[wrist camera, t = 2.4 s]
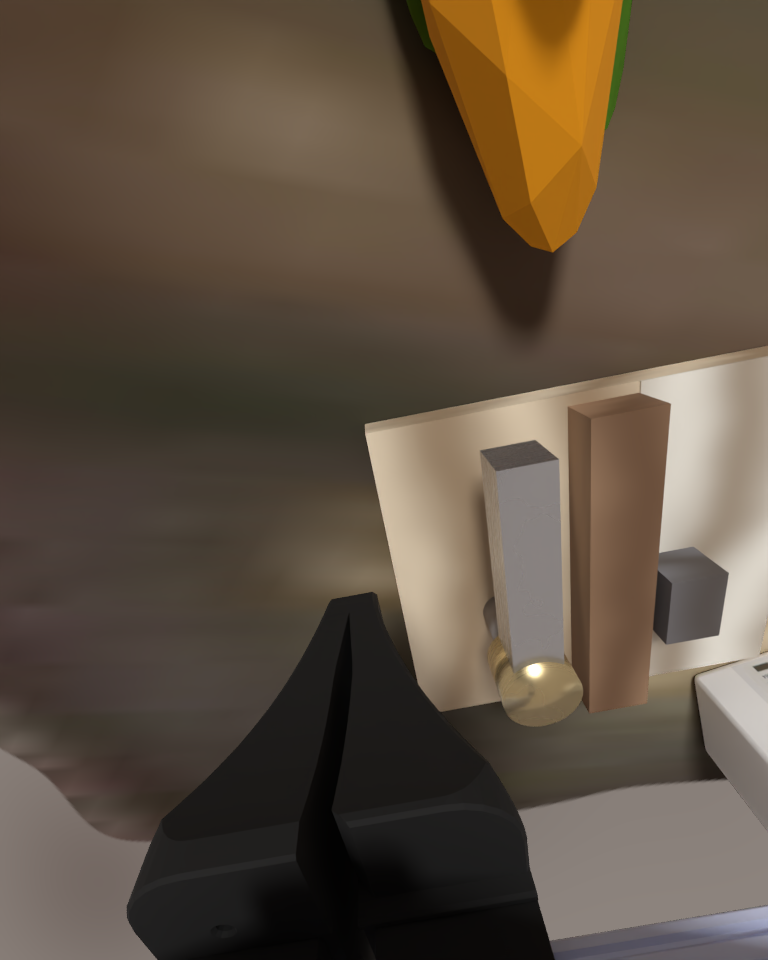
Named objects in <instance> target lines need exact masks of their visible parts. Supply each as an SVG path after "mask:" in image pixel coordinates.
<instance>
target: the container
mask: <svg viewBox="0 0 768 960" xmlns="http://www.w3.org/2000/svg"><path fill="white" fill-rule="evenodd" d="M694 681H695V687H696V693H697V700H698V706H699V712H700V719H701V725H702V731H703V738H704V744H705V749H706V751H707V753H708V754H709V755H710V757H711V758H712V759H713V761H714V762H715V763H716V765H717V766H718V767H719V769H720V770H721V771H722V772H723V774H724V775H725V776H726V778H727V779H728V780H729V782H730V783H731V784H732V785H733V787H734V788H735V789H736V791H737V792H738V793H739V795H740V796H741V797H742V799H743V800H744V801H745V803H746V804H747V805H748V807H749V808H750V809H751V810H752V812H753V813H754V814H755V816H756V817H757V818H758V819H759V821H760V822H761V824H762V825H763V826H764V827H765V829H766V830H767V831H768V652H765V653H762V654H760V655H759V657H754V658H748V659H743V660H740V661H737V662H734V663H731V664H728V665H725V666H722V667H718V668H715V669H712V670H709V671H706V672H703V673H700V674H697V675H696V676H695V679H694Z"/></svg>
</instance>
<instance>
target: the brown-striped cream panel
mask: <svg viewBox="0 0 768 960" xmlns="http://www.w3.org/2000/svg"><path fill="white" fill-rule="evenodd" d="M365 435H366V439H367V444H368V449H369V454H370V458H371V463H372V468H373V473H374V477H375V482H376V487H377V492H378V496H379V501H380V506H381V511H382V515H383V520H384V525H385V530H386V534H387V539H388V544H389V548H390V553H391V558H392V563H393V567H394V572H395V577H396V582H397V586H398V591H399V596H400V601H401V605H402V610H403V615H404V620H405V624H406V629H407V634H408V639H409V643H410V648H411V653H412V658H413V662H414V667H415V672H416V677H417V681H418V685H419V686H420V688H421V689H422V690H423V692H424V693H425V694H426V696H427V697H428V698H429V699H430V701H431V702H432V703H433V704H434V705H435V707H436V708H437V709H438V710H439V711H440V712H442V711H448V710H453V709H459V708H465V707H470V706H476V705H481V704H487V703H493V702H498V701H501V699H500V696H499V693H498V690H497V687H496V684H495V682H494V679H493V676H492V673H491V670H490V667H489V665H488V661H487V652H488V648H489V646H490V644H491V643H492V641H493V640H494V639H495V638H496V637H497V636H498V625H497V615H496V606H495V596H494V586H493V576H492V567H491V557H490V547H489V537H488V528H487V518H486V508H485V498H484V488H483V479H482V469H481V459H480V450H485V449H490V448H495V447H500V446H506V445H511V444H516V443H521V442H526V441H532V440H536V441H537V442H539V443H540V444H541V445H542V446H543V447H545V448H546V449H547V450H548V451H550V452H551V453H552V454H553V455H554V456H556V457H557V458H558V459H559V471H560V512H561V552H562V592H563V632H564V654H565V655H566V657H567V659H568V660H569V662H570V664H571V666H572V667H573V669H574V671H575V673H576V674H577V676H578V678H579V680H580V681H581V683H582V686H583V696H582V701H583V703H584V705H585V706H586V708H587V710H588V712H589V713H595V712H600V711H606V710H612V709H617V708H623V707H629V706H634V705H640V704H646V703H647V695H648V683H649V676H653V675H658V674H664V673H670V672H675V671H681V670H686V669H692V668H698V667H703V666H709V665H714V664H720V663H726V662H731V661H737V660H742V659H748V658H754V657H759V655H760V650H761V645H762V641H763V636H764V631H765V627H766V622H767V617H768V346H764V347H759V348H754V349H749V350H743V351H738V352H733V353H728V354H723V355H718V356H713V357H708V358H702V359H697V360H692V361H687V362H682V363H677V364H672V365H666V366H661V367H656V368H651V369H646V370H641V371H636V372H631V373H625V374H620V375H615V376H610V377H605V378H600V379H595V380H589V381H584V382H579V383H574V384H569V385H564V386H559V387H554V388H548V389H543V390H538V391H533V392H528V393H523V394H518V395H512V396H507V397H502V398H497V399H492V400H487V401H482V402H477V403H471V404H466V405H461V406H456V407H451V408H446V409H441V410H435V411H430V412H425V413H420V414H415V415H410V416H405V417H400V418H394V419H389V420H384V421H379V422H374V423H369V424H365Z"/></svg>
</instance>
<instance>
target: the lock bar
mask: <svg viewBox="0 0 768 960" xmlns="http://www.w3.org/2000/svg"><path fill="white" fill-rule="evenodd" d="M480 459H481V469H482V479H483V488H484V498H485V508H486V518H487V528H488V537H489V547H490V557H491V567H492V576H493V586H494V596H495V606H496V615H497V625H498V636H497V637H496V638H495V639H494V640H493V641H492V643H491V644H490V646H489V648H488V652H487V661H488V665H489V667H490V670H491V673H492V676H493V679H494V682H495V684H496V687H497V690H498V693H499V696H500V699H501V701H502V704H503V707H504V710H505V712H506V714H507V715H508V717H509V718H510V719H512V720H513V721H515V722H516V723H519V724H521V725H525V726H534V727H535V726H545V725H550V724H553V723H556V722H558V721H560V720H562V719H564V718H566V717H567V716H569V715H570V714H571V713H572V712H573V711H574V710H575V709H576V708H577V707H578V705H579V704H580V702H581V700H582V696H583V686H582V683H581V681H580V680H579V678H578V676H577V674H576V673H575V671H574V669H573V667H572V666H571V664H570V662H569V660H568V659H567V657H566V655H565V654H564V632H563V592H562V552H561V512H560V471H559V459H558V458H557V457H556V456H554V455H553V454H552V453H551V452H550V451H548V450H547V449H546V448H545V447H543V446H542V445H541V444H540V443H539V442H537V441H536V440H532V441H526V442H521V443H516V444H511V445H506V446H500V447H495V448H490V449H485V450H480Z"/></svg>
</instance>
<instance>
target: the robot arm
mask: <svg viewBox="0 0 768 960" xmlns="http://www.w3.org/2000/svg"><path fill="white" fill-rule="evenodd" d="M127 918H128V921H129V923H130V925H131V927H132V928H133V930H134V932H135V933H136V935H137V936H138V937H139V938H140V939H141V940H142V942H143V943H144V944H145V945H146V946H147V947H148V949H149V950H150V951H151V952H152V954H153V955H154V956H155V957H156V958H157V960H768V905H764V906H759V907H753V908H746V909H740V910H734V911H728V912H722V913H716V914H711V915H704V916H698V917H692V918H686V919H679V920H674V921H668V922H661V923H655V924H649V925H643V926H638V927H631V928H625V929H619V930H613V931H607V932H601V933H595V934H588V935H582V936H576V937H570V938H565V939H558V940H552V941H549V938H548V934H547V931H546V927H545V924H544V921H543V917H542V914H541V911H540V907H539V904H538V895H537V891H536V888H535V884H534V881H533V878H532V874H531V871H530V867H529V856H528V846H527V836H526V832H525V828H524V825H523V823H522V821H521V818H520V816H519V814H518V811H517V809H516V807H515V805H514V803H513V801H512V800H511V798H510V796H509V794H508V793H507V791H506V789H505V788H504V786H503V784H502V783H501V781H500V779H499V778H498V776H497V775H496V773H495V772H494V770H493V768H492V767H491V765H490V763H489V762H488V761H487V760H486V759H485V758H484V757H483V756H482V755H481V754H480V753H478V752H477V751H476V750H475V749H474V748H473V747H472V746H471V745H470V744H469V743H468V742H467V741H466V740H465V739H464V738H463V737H462V736H461V735H460V734H459V733H458V732H457V731H456V730H455V728H454V727H453V726H452V725H451V724H450V723H449V722H448V721H447V720H446V718H445V717H444V716H443V715H442V714H441V713H440V711H439V710H438V709H437V708H436V707H435V705H434V704H433V703H432V702H431V701H430V699H429V698H428V697H427V696H426V694H425V693H424V692H423V690H422V689H421V688H420V686H419V685H418V683H417V682H416V680H415V679H414V678H413V676H412V675H411V673H410V672H409V670H408V668H407V667H406V665H405V664H404V662H403V660H402V659H401V657H400V655H399V653H398V652H397V650H396V648H395V646H394V644H393V642H392V640H391V638H390V636H389V634H388V632H387V630H386V628H385V625H384V623H383V619H382V615H381V610H380V606H379V602H378V598H377V594H375V593H373V592H369V593H364V594H359V595H353V596H348V597H342V598H337V599H332V600H331V601H330V603H329V604H328V607H327V609H326V611H325V613H324V616H323V618H322V620H321V622H320V624H319V626H318V628H317V630H316V632H315V634H314V636H313V638H312V640H311V642H310V644H309V646H308V647H307V649H306V651H305V653H304V655H303V657H302V658H301V660H300V662H299V663H298V665H297V667H296V668H295V670H294V672H293V673H292V675H291V677H290V678H289V680H288V681H287V683H286V685H285V686H284V688H283V689H282V691H281V692H280V693H279V695H278V696H277V698H276V699H275V701H274V702H273V703H272V705H271V706H270V707H269V709H268V710H267V711H266V713H265V714H264V715H263V717H262V718H261V719H260V720H259V722H258V723H257V724H256V725H255V727H254V728H253V729H252V730H251V732H250V733H249V734H248V735H247V736H246V738H245V739H244V740H243V741H242V742H241V743H240V745H239V746H238V747H237V748H236V749H235V750H234V751H233V752H232V753H231V754H230V755H229V756H228V757H227V759H226V760H225V761H224V762H223V763H222V764H221V765H220V766H219V767H218V768H217V769H216V770H215V771H214V772H213V773H212V774H211V775H210V776H209V777H208V778H207V779H206V780H205V781H204V782H203V783H202V784H201V785H200V786H198V787H197V788H196V789H195V790H194V791H193V792H192V793H191V794H190V795H189V796H187V797H186V798H185V799H184V800H183V801H182V802H181V803H180V804H179V805H178V806H176V807H175V808H174V809H173V810H172V811H171V812H170V813H169V814H168V815H166V816H165V817H164V818H163V819H162V820H161V822H160V825H159V827H158V829H157V831H156V833H155V836H154V838H153V840H152V842H151V844H150V847H149V849H148V852H147V854H146V857H145V860H144V862H143V865H142V867H141V870H140V873H139V875H138V878H137V881H136V883H135V886H134V889H133V892H132V894H131V897H130V899H129V902H128V905H127Z"/></svg>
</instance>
